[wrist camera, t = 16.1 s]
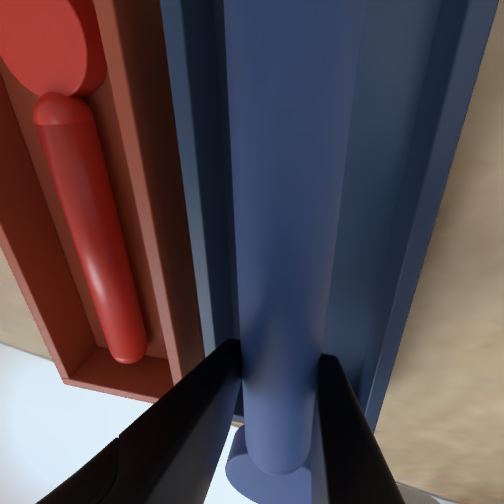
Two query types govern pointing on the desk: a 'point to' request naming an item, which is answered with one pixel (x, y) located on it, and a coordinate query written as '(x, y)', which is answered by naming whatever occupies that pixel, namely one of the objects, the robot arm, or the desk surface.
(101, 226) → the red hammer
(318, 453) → the robot arm
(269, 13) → the blue spoon
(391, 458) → the desk surface
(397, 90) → the near bin
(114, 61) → the far bin
